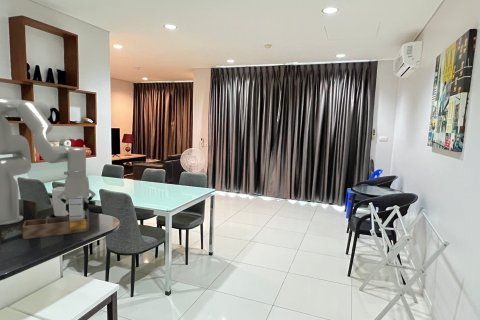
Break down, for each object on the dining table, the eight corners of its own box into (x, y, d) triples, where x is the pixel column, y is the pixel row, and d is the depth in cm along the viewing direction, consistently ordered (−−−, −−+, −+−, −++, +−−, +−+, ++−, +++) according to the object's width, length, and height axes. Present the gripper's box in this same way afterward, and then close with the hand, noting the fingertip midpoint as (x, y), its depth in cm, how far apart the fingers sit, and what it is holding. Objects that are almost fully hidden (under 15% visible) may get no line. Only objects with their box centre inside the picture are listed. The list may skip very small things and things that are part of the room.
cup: (72, 213, 163) (72, 187, 162) (65, 217, 156) (64, 190, 154) (59, 213, 163) (58, 186, 161) (51, 217, 156) (50, 189, 154)
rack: (22, 239, 127) (22, 226, 126) (24, 232, 134) (24, 220, 134) (88, 231, 140) (88, 219, 139) (87, 225, 147) (87, 214, 147)
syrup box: (83, 226, 139) (83, 196, 138) (68, 227, 138) (68, 196, 136) (85, 222, 145) (85, 193, 143) (71, 222, 143) (71, 193, 141)
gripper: (54, 176, 131) (55, 215, 133) (98, 174, 140) (98, 211, 142) (55, 173, 137) (55, 210, 139) (96, 172, 146) (96, 207, 148)
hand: (77, 210), depth 140 cm, fingers closed on syrup box, 6 cm apart
